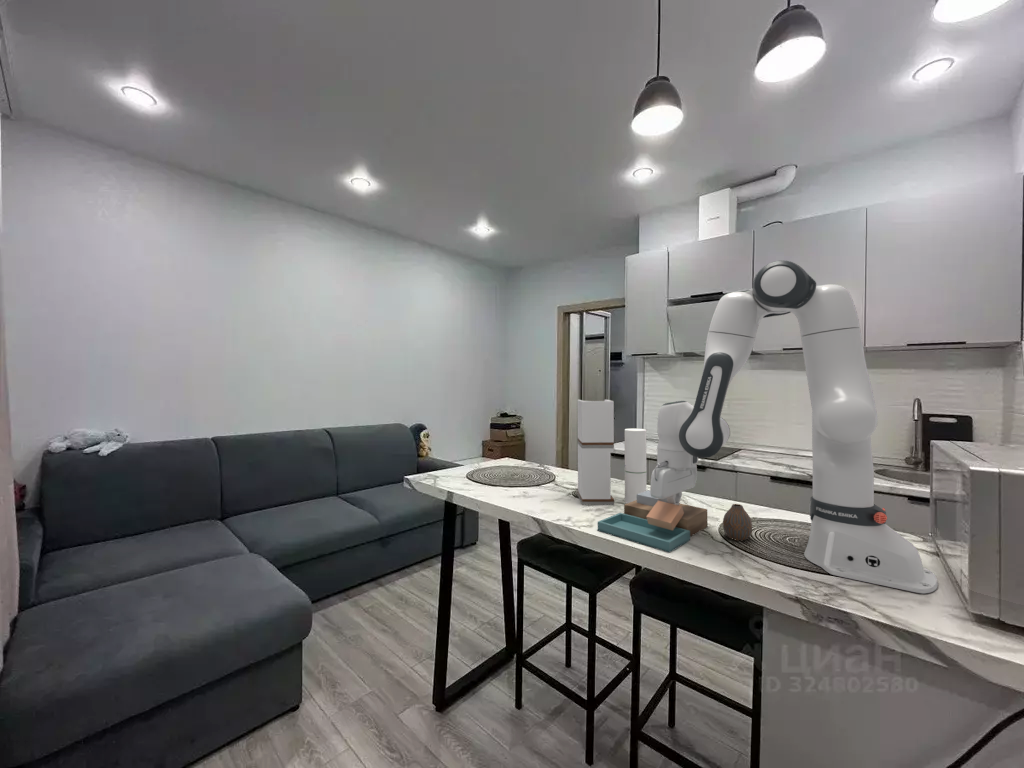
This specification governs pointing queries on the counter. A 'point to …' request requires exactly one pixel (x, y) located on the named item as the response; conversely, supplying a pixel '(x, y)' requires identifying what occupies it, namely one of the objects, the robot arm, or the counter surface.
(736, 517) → the vase
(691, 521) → the block
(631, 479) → the cylindrical container
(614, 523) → the tray
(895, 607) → the counter surface
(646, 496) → the slate tile
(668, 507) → the terracotta tile
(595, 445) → the white stacked pillar
